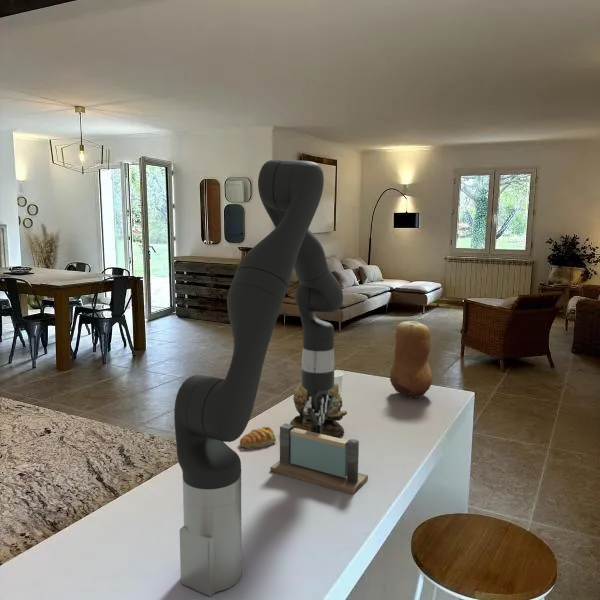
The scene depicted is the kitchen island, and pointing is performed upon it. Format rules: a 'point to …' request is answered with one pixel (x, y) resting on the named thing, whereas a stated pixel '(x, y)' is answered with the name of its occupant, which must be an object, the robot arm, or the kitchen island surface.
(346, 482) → the gate frame
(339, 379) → the white cup
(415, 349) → the butternut squash
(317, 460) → the gate panel
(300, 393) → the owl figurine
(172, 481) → the kitchen island surface
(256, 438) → the pastry
